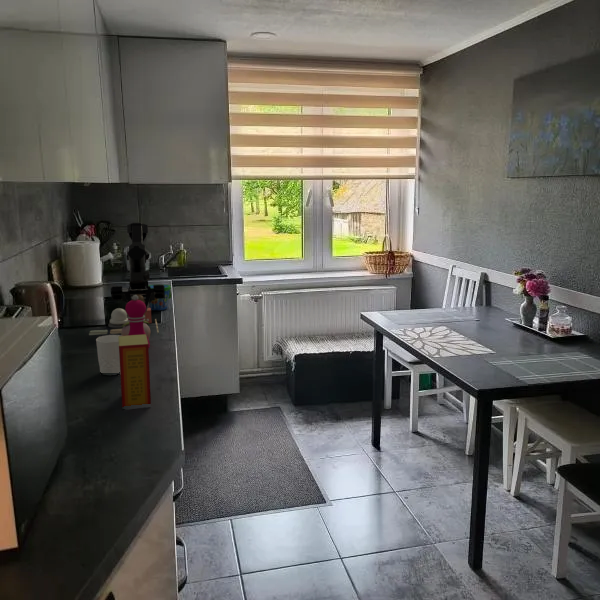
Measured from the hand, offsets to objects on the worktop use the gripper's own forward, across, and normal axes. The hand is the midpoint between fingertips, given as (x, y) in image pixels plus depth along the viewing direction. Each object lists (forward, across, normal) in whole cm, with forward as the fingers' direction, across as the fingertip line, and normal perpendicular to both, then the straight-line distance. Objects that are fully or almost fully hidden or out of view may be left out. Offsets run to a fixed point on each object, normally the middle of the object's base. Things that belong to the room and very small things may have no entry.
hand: (138, 311), depth 193 cm
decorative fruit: (+19, 0, -7) cm, 20 cm away
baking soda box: (+52, 0, -41) cm, 66 cm away
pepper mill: (+28, 0, -16) cm, 32 cm away
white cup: (+35, -6, -24) cm, 43 cm away
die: (-4, +2, +14) cm, 15 cm away
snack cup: (-23, +7, +35) cm, 42 cm away
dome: (-3, -7, +12) cm, 14 cm away
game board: (+1, -6, +11) cm, 12 cm away
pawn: (+4, 0, +6) cm, 7 cm away
